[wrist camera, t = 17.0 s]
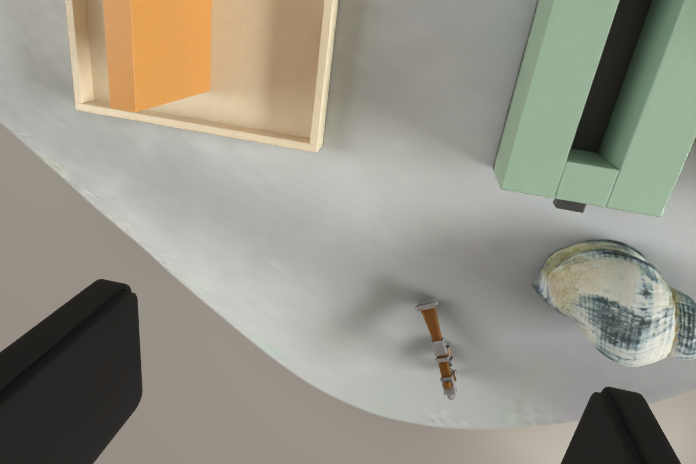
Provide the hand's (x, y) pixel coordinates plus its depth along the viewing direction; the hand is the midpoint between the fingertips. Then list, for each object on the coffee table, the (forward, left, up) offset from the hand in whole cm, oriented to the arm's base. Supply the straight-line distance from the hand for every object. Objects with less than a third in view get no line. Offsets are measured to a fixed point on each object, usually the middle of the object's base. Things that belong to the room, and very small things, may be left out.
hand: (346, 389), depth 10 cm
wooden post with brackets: (+17, +6, -28) cm, 34 cm away
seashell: (+10, +18, -28) cm, 35 cm away
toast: (-5, -16, -28) cm, 32 cm away
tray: (-5, -16, -28) cm, 33 cm away
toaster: (-6, +12, -28) cm, 31 cm away
